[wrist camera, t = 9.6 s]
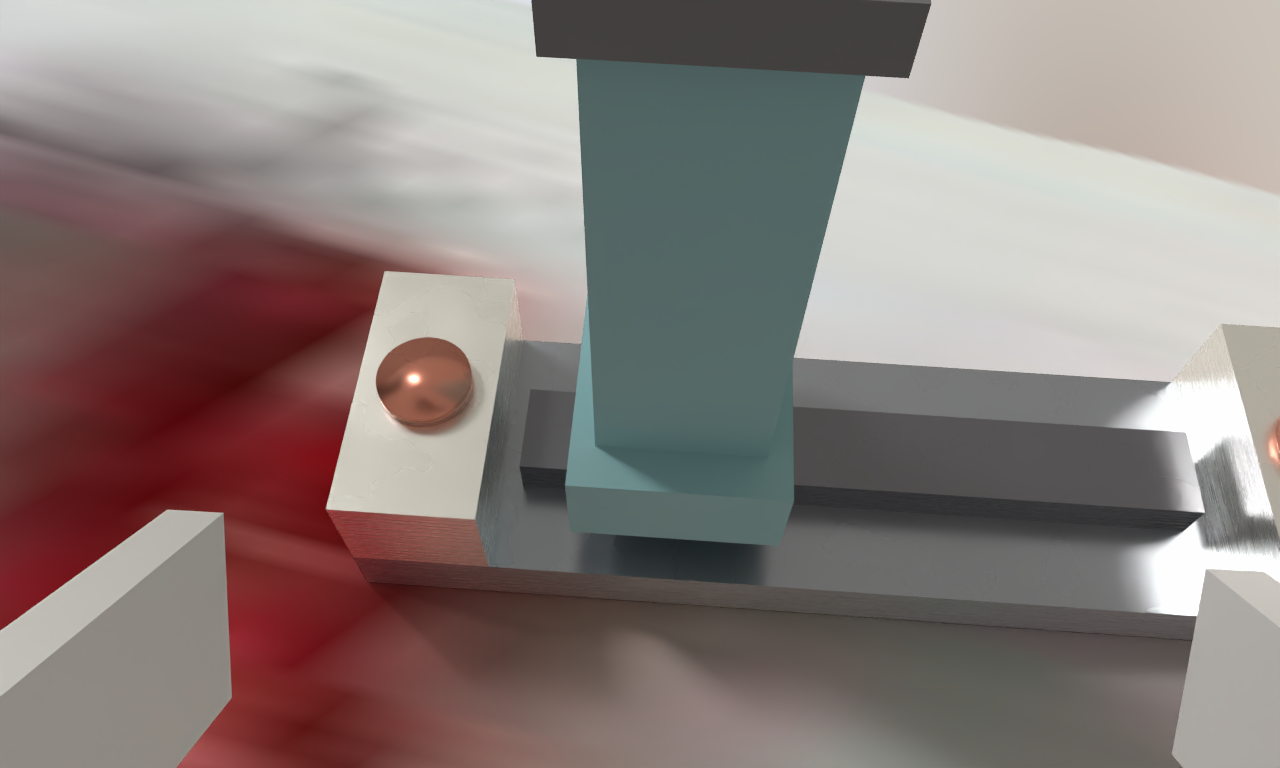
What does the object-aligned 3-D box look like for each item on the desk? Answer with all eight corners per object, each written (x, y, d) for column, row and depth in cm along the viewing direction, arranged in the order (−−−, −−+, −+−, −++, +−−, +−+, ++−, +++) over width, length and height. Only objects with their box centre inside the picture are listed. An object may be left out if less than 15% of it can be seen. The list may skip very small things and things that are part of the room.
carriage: (570, 531, 22) (514, 12, 11) (592, 328, 25) (567, -256, 13) (779, 545, 22) (945, 36, 11) (778, 340, 25) (911, -239, 13)
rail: (367, 582, 24) (320, 500, 20) (414, 365, 27) (381, 260, 24) (1327, 649, 24) (1459, 579, 20) (1263, 420, 27) (1366, 322, 23)
